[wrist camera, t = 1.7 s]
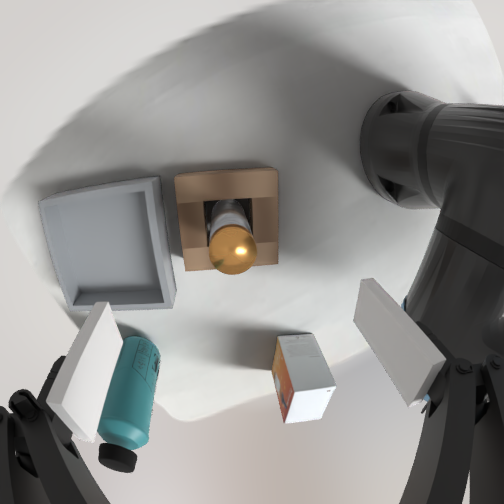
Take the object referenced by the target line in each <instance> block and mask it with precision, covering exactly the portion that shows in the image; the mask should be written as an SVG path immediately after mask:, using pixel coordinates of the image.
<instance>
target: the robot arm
mask: <svg viewBox="0 0 504 504" xmlns="http://www.w3.org/2000/svg"><path fill="white" fill-rule="evenodd" d="M360 150H361V158H362V163H363V167H364V170H365V172H366V175H367V177H368V179H369V181H370V183H371V184H372V186H373V187H374V188H375V190H376V191H377V192H378V193H379V194H380V195H381V196H382V197H384V198H385V199H386V200H388V201H390V202H392V203H394V204H396V205H399V206H401V207H404V208H408V209H435V208H440V209H441V210H440V214H439V217H438V221H437V224H436V226H435V228H434V231H433V234H432V237H431V240H430V242H429V245H428V248H427V250H426V253H425V255H424V258H423V260H422V263H421V265H420V268H419V270H418V273H417V275H416V277H415V279H414V282H413V284H412V286H411V288H410V291H409V293H408V295H407V296H406V297H405V298H404V300H403V303H402V304H401V307H400V306H399V305H398V304H397V303H396V301H395V300H394V299H393V298H392V297H391V296H390V295H389V294H388V293H387V292H386V291H385V290H384V289H383V288H382V287H381V286H380V285H379V284H378V283H377V282H376V281H375V280H374V279H373V278H370V279H363V280H361V283H360V289H359V294H358V300H357V305H356V310H355V315H354V319H353V321H354V323H355V324H356V326H357V327H358V329H359V330H360V332H361V333H362V335H363V336H364V338H365V339H366V341H367V342H368V344H369V345H370V347H371V349H372V350H373V352H374V353H375V355H376V356H377V358H378V359H379V361H380V362H381V364H382V365H383V367H384V369H385V370H386V372H387V373H388V375H389V377H390V378H391V380H392V381H393V383H394V385H395V386H396V388H397V389H398V391H399V393H400V394H401V396H402V397H403V399H404V401H405V402H406V404H407V406H408V407H411V406H413V405H415V404H418V403H420V402H421V401H422V400H423V399H424V400H425V401H427V404H426V405H425V406H424V408H423V409H422V412H421V413H423V412H424V411H425V410H426V414H425V419H424V424H423V429H422V433H421V437H420V441H419V445H418V449H417V453H416V456H415V460H414V463H413V466H412V470H411V473H410V476H409V479H408V482H407V485H406V487H405V490H404V493H403V496H402V498H401V501H400V503H399V504H462V501H463V497H464V493H465V489H466V484H467V479H468V474H469V471H470V504H504V106H502V105H488V104H459V103H456V104H446V103H444V102H442V101H439V100H437V99H434V98H432V97H430V96H427V95H424V94H422V93H419V92H414V91H400V92H393V93H389V94H387V95H385V96H383V97H381V98H380V99H379V100H377V101H376V102H375V103H374V104H373V106H372V107H371V108H370V110H369V111H368V113H367V115H366V117H365V120H364V123H363V126H362V131H361V138H360ZM122 345H123V340H122V338H121V335H120V332H119V330H118V327H117V324H116V322H115V319H114V316H113V313H112V310H111V307H110V304H109V302H96V303H95V305H94V306H93V308H92V310H91V311H90V313H89V315H88V317H87V318H86V320H85V322H84V324H83V326H82V327H81V329H80V331H79V333H78V335H77V337H76V339H75V340H74V342H73V344H72V346H71V348H70V350H69V352H68V354H67V356H61V357H60V358H59V359H58V360H57V361H56V362H55V363H54V364H53V367H52V369H51V370H50V373H49V374H48V376H47V379H46V381H45V383H44V385H43V387H42V389H41V391H40V394H39V396H38V398H37V400H36V398H35V397H34V396H33V395H32V393H31V392H30V391H28V390H24V389H21V390H18V391H17V392H15V393H14V394H13V395H12V396H11V397H10V400H9V408H10V409H11V410H12V412H13V413H9V412H8V411H7V410H6V409H5V408H4V407H2V406H0V504H110V502H109V501H108V500H107V498H106V497H105V495H104V494H103V492H102V491H101V489H100V488H99V486H98V484H97V483H96V481H95V480H94V478H93V477H92V475H91V473H90V471H89V470H88V468H87V466H86V464H85V463H84V461H83V459H82V457H81V455H80V453H79V451H78V449H77V448H76V446H75V444H74V442H73V441H72V440H71V437H72V434H74V435H75V436H76V437H77V438H78V439H79V440H83V441H87V442H92V443H94V440H95V436H96V432H97V428H98V424H99V420H100V416H101V413H102V409H103V405H104V402H105V398H106V395H107V391H108V388H109V385H110V381H111V378H112V375H113V372H114V368H115V365H116V362H117V359H118V356H119V353H120V350H121V347H122ZM15 451H16V456H15Z"/></svg>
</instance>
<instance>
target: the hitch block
mask: <svg viewBox="0 0 504 504" xmlns="http://www.w3.org/2000/svg"><path fill="white" fill-rule="evenodd" d="M174 183H175V193H176V203H177V212H178V220H179V228H180V236H181V244H182V251H183V258H184V264H185V271H198V270H211V269H216V268H215V267H214V266H213V265H212V263H211V261H210V258H209V242H210V237H208V232H207V221H206V209H205V201H213V200H227V199H242V198H249V209H250V230H251V232H252V235H253V238H254V241H255V244H256V247H257V257H256V260H255V262H254V264H253V265H252V266H261V265H273V264H278V170H276V169H274V168H272V167H270V168H245V169H228V170H213V171H201V172H190V173H180V174H177V175H176V176H175V177H174Z"/></svg>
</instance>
